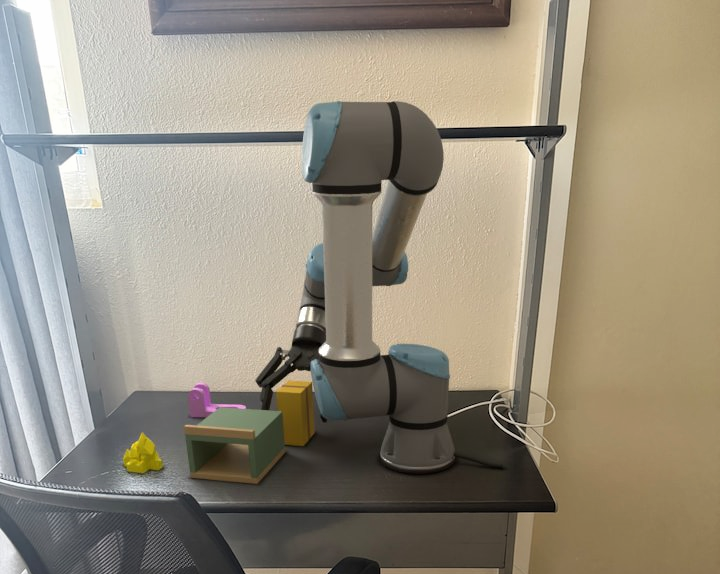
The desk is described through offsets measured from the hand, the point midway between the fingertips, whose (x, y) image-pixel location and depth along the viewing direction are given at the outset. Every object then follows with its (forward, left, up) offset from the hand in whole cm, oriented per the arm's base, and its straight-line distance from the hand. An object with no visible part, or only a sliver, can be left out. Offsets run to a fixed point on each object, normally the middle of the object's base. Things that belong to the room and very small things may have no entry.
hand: (293, 417), depth 152 cm
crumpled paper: (+26, +19, -6) cm, 33 cm away
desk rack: (+7, +14, -6) cm, 17 cm away
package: (0, -2, -5) cm, 6 cm away
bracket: (+24, -14, -6) cm, 28 cm away
